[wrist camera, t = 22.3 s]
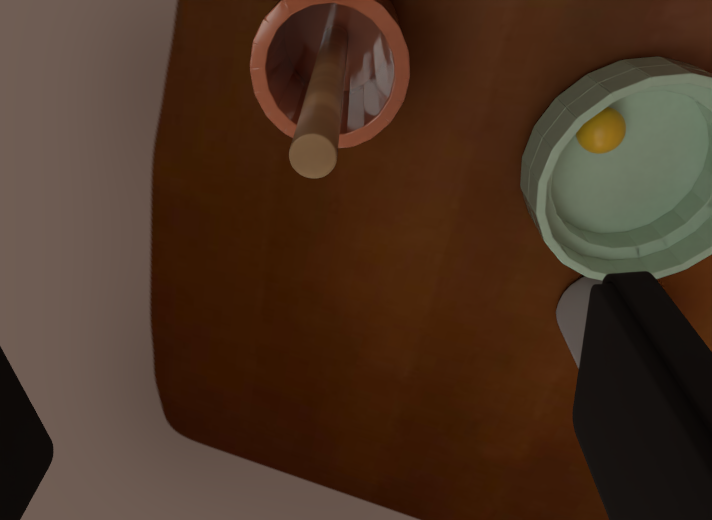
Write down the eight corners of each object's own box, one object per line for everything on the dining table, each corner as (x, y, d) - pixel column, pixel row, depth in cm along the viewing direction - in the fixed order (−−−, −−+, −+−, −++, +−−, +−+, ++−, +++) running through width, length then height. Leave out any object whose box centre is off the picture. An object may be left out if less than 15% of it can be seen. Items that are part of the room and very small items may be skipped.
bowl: (524, 66, 38) (545, 86, 33) (750, 44, 37) (801, 62, 33) (514, 254, 45) (530, 290, 41) (703, 239, 44) (740, 274, 40)
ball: (625, 118, 35) (630, 157, 37) (620, 92, 37) (625, 130, 39) (573, 130, 36) (581, 167, 38) (571, 103, 38) (578, 140, 40)
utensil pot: (262, -25, 35) (235, -6, 27) (395, -40, 35) (405, -24, 27) (284, 106, 39) (265, 155, 31) (403, 95, 39) (413, 142, 31)
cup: (650, 262, 45) (708, 335, 38) (635, 360, 50) (683, 440, 43) (556, 272, 46) (594, 346, 38) (550, 367, 51) (584, 449, 43)
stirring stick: (320, 27, 36) (284, 137, 19) (346, 23, 36) (332, 130, 19) (325, 54, 37) (294, 182, 20) (350, 50, 37) (340, 175, 20)
